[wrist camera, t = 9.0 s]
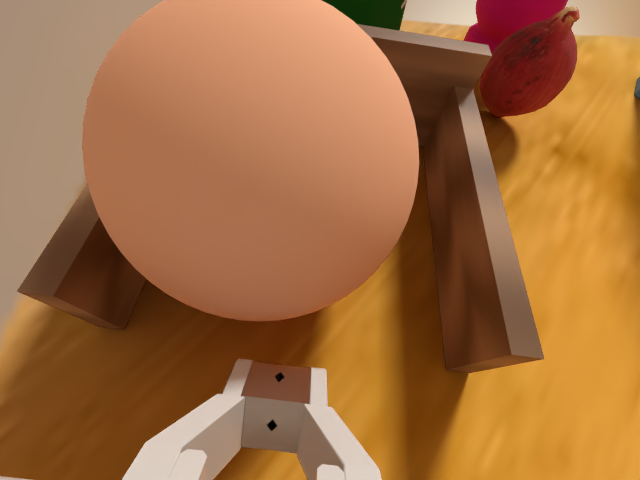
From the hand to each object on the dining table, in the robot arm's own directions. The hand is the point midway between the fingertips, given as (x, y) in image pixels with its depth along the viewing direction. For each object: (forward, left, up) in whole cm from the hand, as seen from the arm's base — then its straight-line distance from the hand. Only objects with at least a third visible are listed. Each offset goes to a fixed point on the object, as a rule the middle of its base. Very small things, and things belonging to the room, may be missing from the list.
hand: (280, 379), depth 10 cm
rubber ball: (+7, -4, +2) cm, 8 cm away
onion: (+6, -27, -5) cm, 28 cm away
